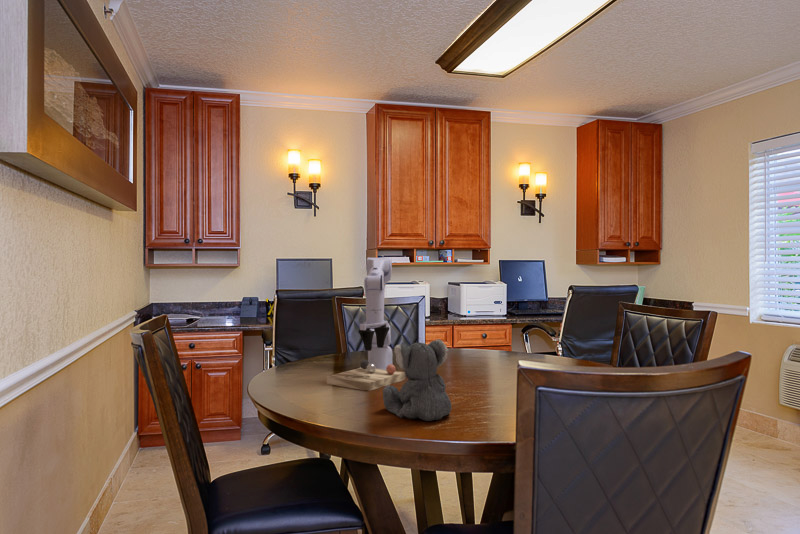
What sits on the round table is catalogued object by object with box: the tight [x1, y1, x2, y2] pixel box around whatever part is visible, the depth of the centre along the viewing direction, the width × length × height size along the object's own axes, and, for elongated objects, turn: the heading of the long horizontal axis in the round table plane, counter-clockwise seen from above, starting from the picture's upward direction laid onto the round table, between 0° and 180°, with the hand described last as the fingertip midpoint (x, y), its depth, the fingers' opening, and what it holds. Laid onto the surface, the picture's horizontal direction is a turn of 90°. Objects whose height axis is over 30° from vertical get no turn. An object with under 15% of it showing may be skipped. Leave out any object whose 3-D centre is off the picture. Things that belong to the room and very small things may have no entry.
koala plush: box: [382, 338, 452, 422], centre depth 137 cm, size 17×18×20 cm
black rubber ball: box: [359, 359, 369, 369], centre depth 185 cm, size 3×3×3 cm
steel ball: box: [367, 364, 376, 373], centre depth 178 cm, size 3×3×3 cm
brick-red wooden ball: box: [386, 363, 397, 374], centre depth 176 cm, size 3×3×3 cm
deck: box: [326, 367, 406, 392], centre depth 176 cm, size 20×18×2 cm
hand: (374, 348), depth 181 cm, fingers open, 7 cm apart
